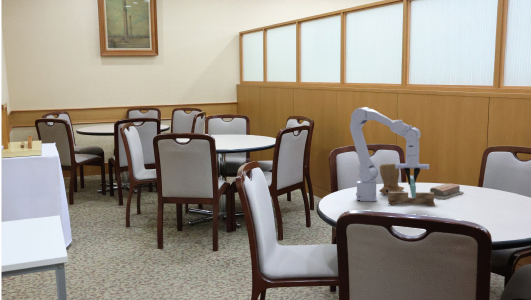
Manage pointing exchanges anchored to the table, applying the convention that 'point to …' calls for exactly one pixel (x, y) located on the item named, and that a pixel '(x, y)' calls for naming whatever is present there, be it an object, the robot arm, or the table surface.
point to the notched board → (403, 198)
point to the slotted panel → (412, 187)
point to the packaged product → (445, 191)
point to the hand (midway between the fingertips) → (411, 184)
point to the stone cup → (390, 178)
